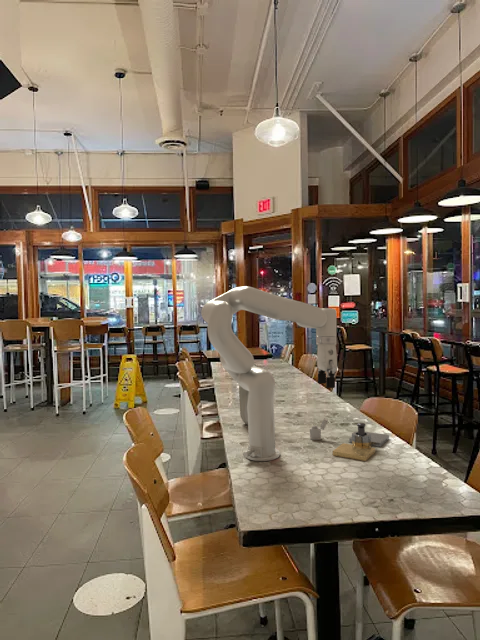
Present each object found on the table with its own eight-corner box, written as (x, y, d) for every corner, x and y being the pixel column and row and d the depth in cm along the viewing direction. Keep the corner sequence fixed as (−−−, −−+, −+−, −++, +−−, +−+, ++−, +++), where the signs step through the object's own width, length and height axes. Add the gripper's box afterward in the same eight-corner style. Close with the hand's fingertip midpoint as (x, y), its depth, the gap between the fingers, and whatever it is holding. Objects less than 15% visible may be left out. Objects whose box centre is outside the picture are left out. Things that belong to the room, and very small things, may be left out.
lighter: (310, 439, 177) (309, 419, 177) (310, 438, 179) (309, 418, 178) (328, 439, 177) (327, 419, 176) (327, 437, 178) (327, 418, 178)
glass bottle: (261, 427, 197) (258, 364, 196) (238, 426, 199) (235, 364, 198) (264, 421, 207) (262, 361, 206) (242, 420, 209) (240, 361, 208)
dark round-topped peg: (364, 448, 164) (363, 425, 163) (356, 447, 165) (355, 424, 165) (367, 446, 166) (366, 423, 166) (359, 445, 168) (358, 422, 168)
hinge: (365, 461, 152) (365, 446, 151) (332, 455, 158) (332, 441, 158) (389, 438, 174) (388, 426, 174) (359, 434, 181) (358, 422, 181)
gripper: (344, 342, 162) (344, 389, 162) (328, 339, 179) (327, 381, 179) (324, 342, 160) (324, 390, 161) (309, 339, 178) (309, 382, 178)
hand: (326, 385), depth 170 cm, fingers open, 9 cm apart
